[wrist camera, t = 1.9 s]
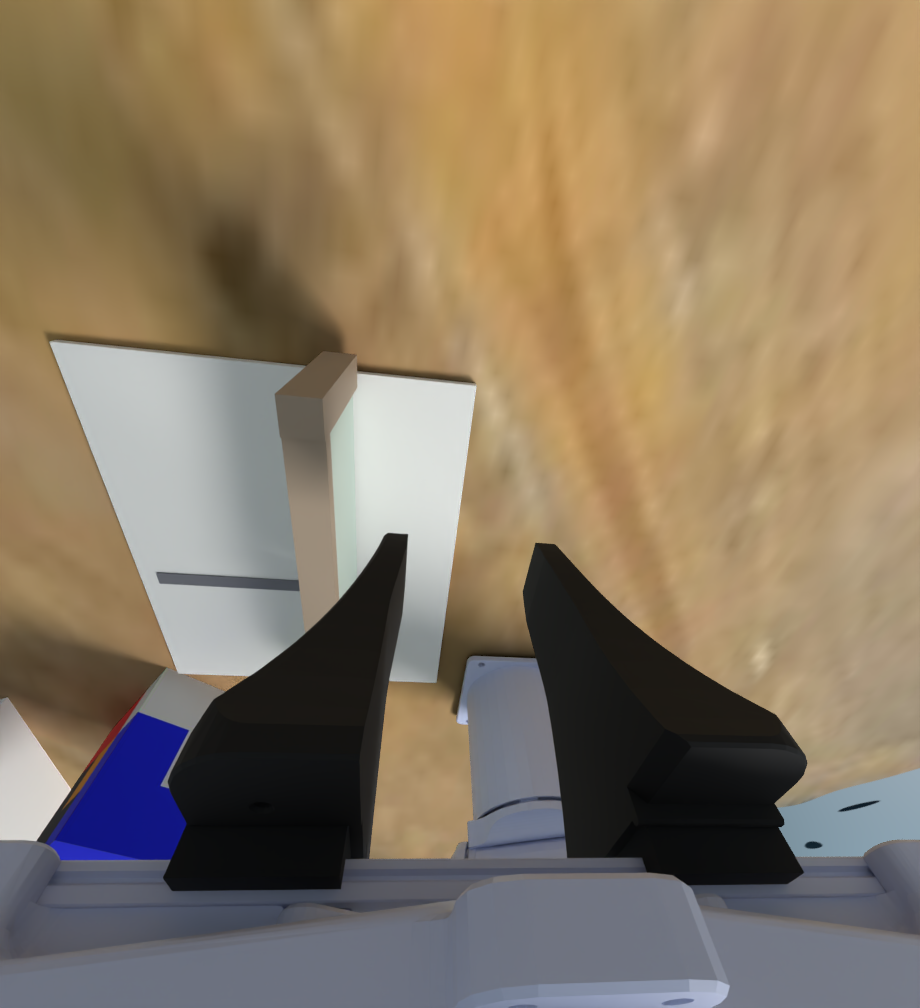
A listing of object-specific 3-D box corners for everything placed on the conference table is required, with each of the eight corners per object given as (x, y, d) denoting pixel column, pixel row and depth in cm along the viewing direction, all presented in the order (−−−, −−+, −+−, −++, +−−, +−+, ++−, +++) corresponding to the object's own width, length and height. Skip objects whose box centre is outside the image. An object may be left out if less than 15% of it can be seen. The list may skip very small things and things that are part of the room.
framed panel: (360, 575, 24) (338, 664, 19) (336, 574, 24) (307, 662, 19) (356, 354, 18) (322, 398, 12) (323, 351, 17) (274, 393, 12)
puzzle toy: (167, 666, 29) (54, 840, 20) (292, 718, 33) (241, 882, 24) (113, 727, 33) (-2, 897, 24) (231, 768, 36) (168, 925, 28)
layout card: (475, 383, 19) (476, 386, 19) (436, 677, 31) (436, 684, 30) (57, 339, 17) (47, 342, 17) (181, 668, 29) (177, 674, 29)
